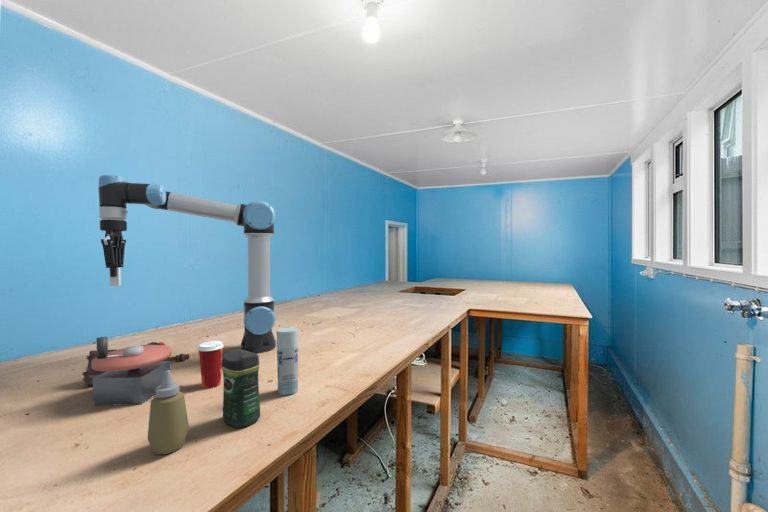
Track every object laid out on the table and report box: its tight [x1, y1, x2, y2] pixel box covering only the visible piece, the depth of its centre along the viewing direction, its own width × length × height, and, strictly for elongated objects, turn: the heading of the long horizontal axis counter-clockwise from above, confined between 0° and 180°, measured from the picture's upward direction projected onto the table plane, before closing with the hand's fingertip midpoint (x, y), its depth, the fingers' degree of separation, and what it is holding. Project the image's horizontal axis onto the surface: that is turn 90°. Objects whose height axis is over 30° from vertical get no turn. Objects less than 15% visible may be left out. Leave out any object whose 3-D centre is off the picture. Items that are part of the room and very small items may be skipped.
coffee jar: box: [222, 348, 261, 428], centre depth 90 cm, size 10×8×19 cm
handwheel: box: [91, 336, 172, 372], centre depth 105 cm, size 20×20×10 cm
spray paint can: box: [276, 326, 299, 397], centre depth 107 cm, size 6×6×20 cm
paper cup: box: [197, 340, 225, 389], centre depth 112 cm, size 8×8×14 cm
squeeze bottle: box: [147, 369, 190, 455], centre depth 77 cm, size 8×8×18 cm
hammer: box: [82, 348, 190, 385], centre depth 125 cm, size 7×33×10 cm, turn 145°
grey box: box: [92, 361, 171, 406], centre depth 106 cm, size 14×14×8 cm
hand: (115, 285), depth 120 cm, fingers closed
